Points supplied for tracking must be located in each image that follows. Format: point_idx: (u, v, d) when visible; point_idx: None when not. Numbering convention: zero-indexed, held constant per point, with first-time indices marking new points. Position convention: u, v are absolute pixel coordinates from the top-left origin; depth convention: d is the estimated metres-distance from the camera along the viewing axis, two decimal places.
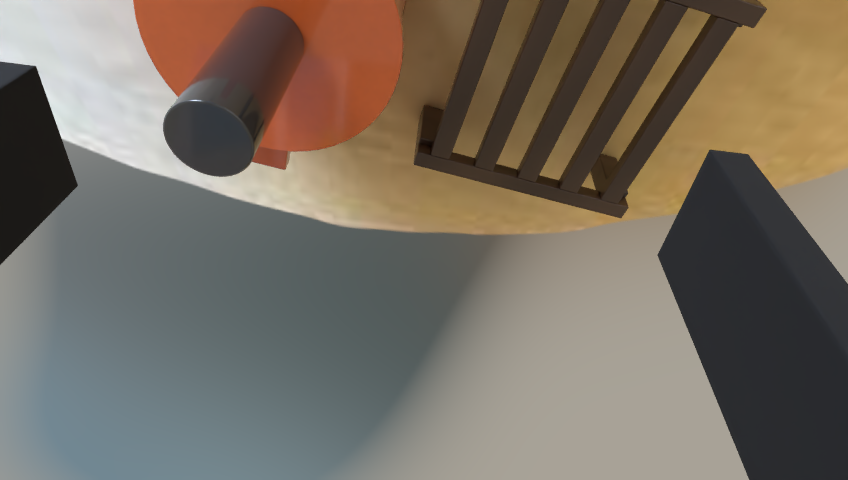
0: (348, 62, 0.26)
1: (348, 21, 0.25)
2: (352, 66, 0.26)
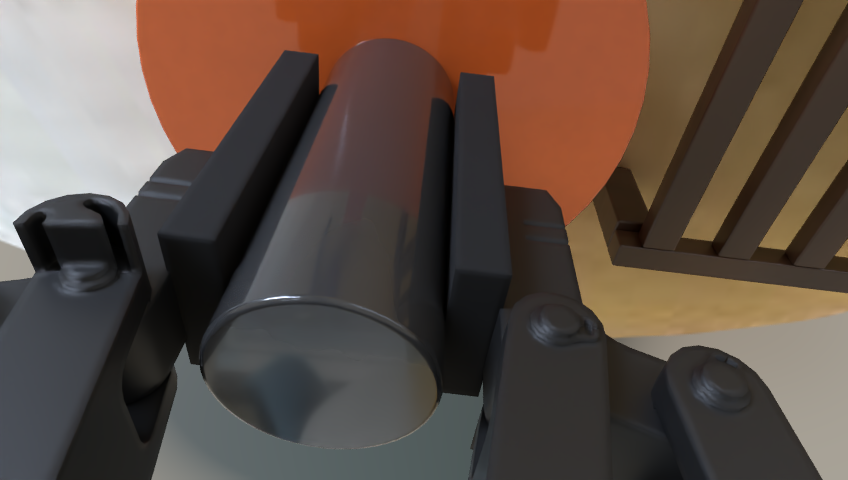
0: (537, 119, 0.14)
1: (542, 41, 0.13)
2: (544, 125, 0.14)
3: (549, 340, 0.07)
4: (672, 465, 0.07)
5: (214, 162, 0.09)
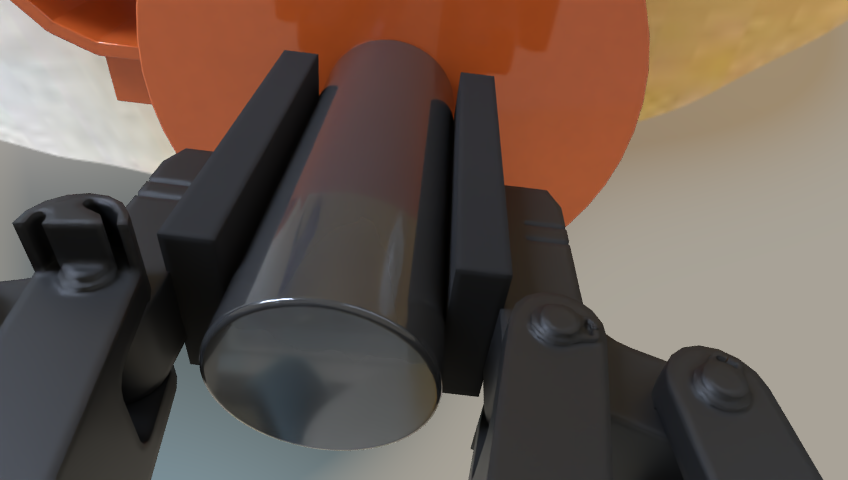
0: (536, 120, 0.14)
1: (541, 42, 0.13)
2: (544, 126, 0.14)
3: (550, 340, 0.07)
4: (673, 465, 0.07)
5: (213, 162, 0.09)
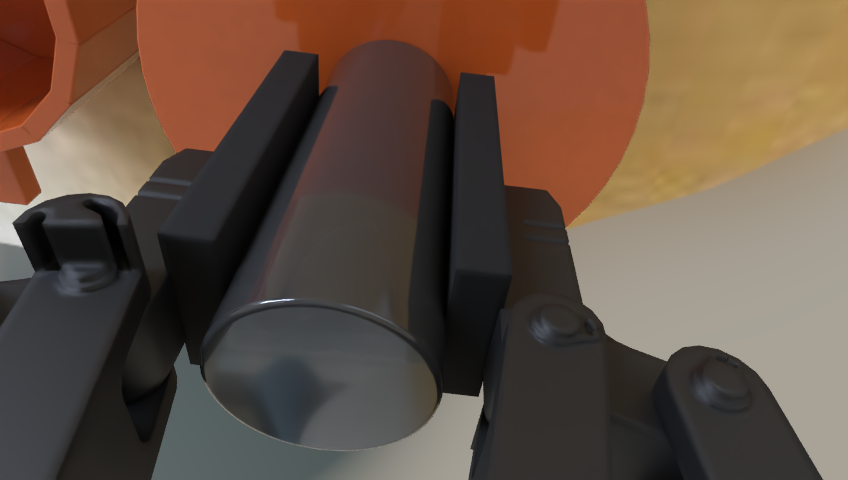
0: (537, 120, 0.14)
1: (542, 42, 0.13)
2: (544, 127, 0.14)
3: (550, 340, 0.07)
4: (672, 465, 0.07)
5: (214, 162, 0.09)
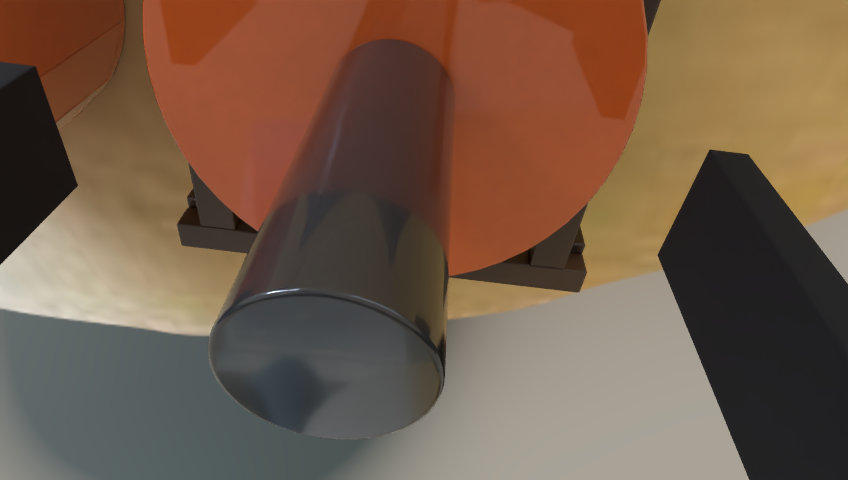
0: (536, 119, 0.14)
1: (541, 41, 0.13)
2: (544, 125, 0.14)
3: None
4: None
5: None
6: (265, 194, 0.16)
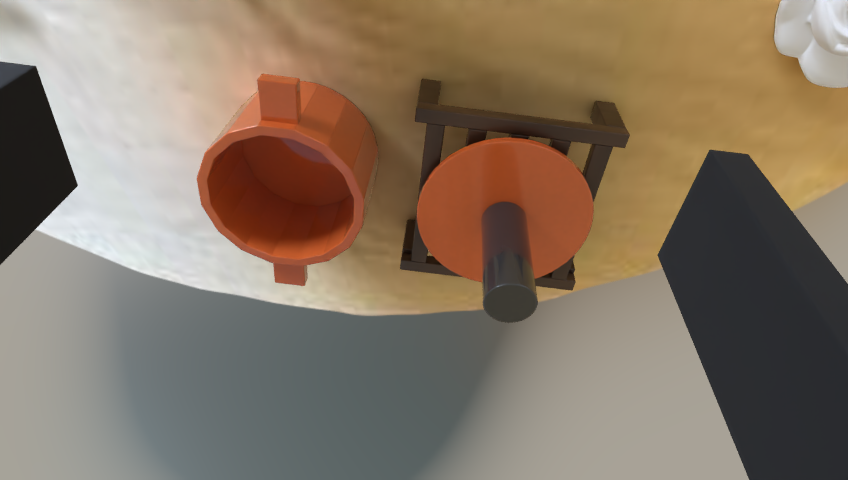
0: (555, 226, 0.39)
1: (557, 203, 0.38)
2: (558, 228, 0.39)
3: None
4: None
5: None
6: (448, 250, 0.41)
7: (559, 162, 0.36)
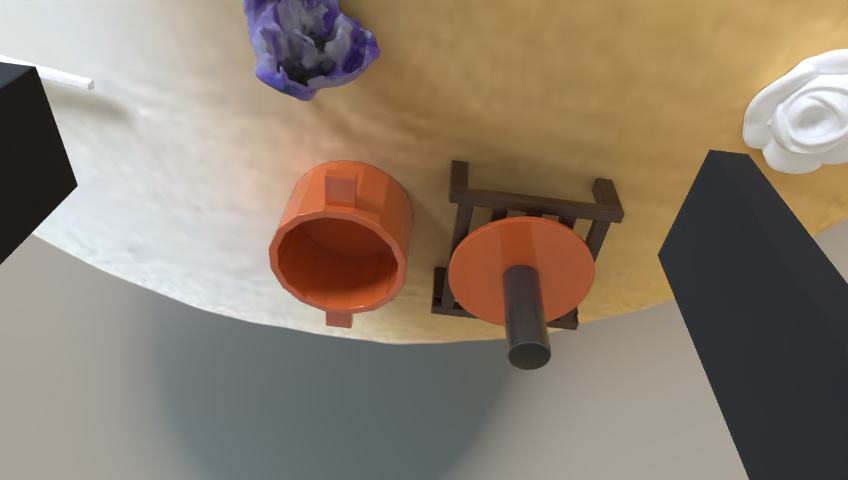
0: (563, 283, 0.48)
1: (565, 266, 0.46)
2: (565, 284, 0.48)
3: None
4: None
5: None
6: (473, 300, 0.50)
7: (567, 236, 0.44)
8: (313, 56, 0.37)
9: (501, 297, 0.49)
